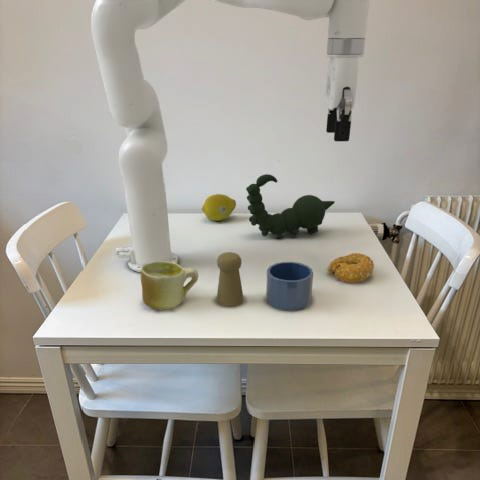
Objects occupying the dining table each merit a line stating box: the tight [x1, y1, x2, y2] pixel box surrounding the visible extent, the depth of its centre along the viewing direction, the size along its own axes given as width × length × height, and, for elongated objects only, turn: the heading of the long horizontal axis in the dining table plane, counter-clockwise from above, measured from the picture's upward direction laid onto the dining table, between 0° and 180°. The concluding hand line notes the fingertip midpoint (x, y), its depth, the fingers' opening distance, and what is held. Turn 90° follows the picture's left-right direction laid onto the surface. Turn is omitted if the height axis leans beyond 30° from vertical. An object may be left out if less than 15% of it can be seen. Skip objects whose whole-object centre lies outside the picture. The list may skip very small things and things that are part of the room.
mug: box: [140, 261, 199, 311], centre depth 105 cm, size 12×10×10 cm
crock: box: [265, 261, 314, 312], centre depth 105 cm, size 10×10×7 cm
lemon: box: [201, 193, 237, 222], centre depth 149 cm, size 11×8×8 cm
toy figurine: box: [245, 173, 335, 240], centre depth 136 cm, size 9×19×25 cm
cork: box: [216, 251, 244, 308], centre depth 104 cm, size 6×6×11 cm
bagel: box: [327, 252, 375, 284], centre depth 116 cm, size 10×11×5 cm
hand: (337, 136), depth 107 cm, fingers open, 9 cm apart
